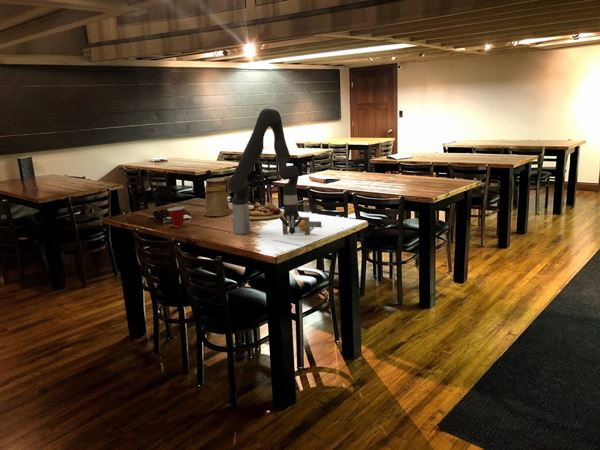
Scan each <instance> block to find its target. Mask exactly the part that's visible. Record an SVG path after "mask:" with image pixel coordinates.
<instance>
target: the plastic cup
mask: <svg viewBox="0 0 600 450" xmlns="http://www.w3.org/2000/svg"><path fill="white" fill-rule="evenodd" d="M167 212H168V214H169V216H170V220H171V223H172V225H173V227H174V226H181V225H183V226H184V217H185V216H184V213H185V206H175V207H171V208H168V209H167Z"/></svg>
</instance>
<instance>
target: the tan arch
mask: <svg viewBox="0 0 600 450" xmlns="http://www.w3.org/2000/svg"><path fill="white" fill-rule="evenodd" d="M302 217H303V219H302V220H305V233H304V235H305V236H310V234H311V232H310V222H309V221H310V217H309V216H302ZM285 220H286V218H285ZM302 220H301V221H302ZM286 221H287V220H286ZM295 221H298V218H297V219H296V220H295ZM287 222H288V221H287ZM281 223H282V235H284V236H285V235H288V234H289V233H288V231H289V230H288V229H289V227H286V226H285V225H284V223H283V222H282V221H281Z"/></svg>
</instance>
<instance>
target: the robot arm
mask: <svg viewBox="0 0 600 450" xmlns="http://www.w3.org/2000/svg"><path fill="white" fill-rule="evenodd" d="M269 127H270V129H271V130H272V132H273V139H274V140H273V141H274V142H273V148H274V152H275V156H276V158H277V164H278V167H277V168H278V175H279V176H280V178H281V179H282V180H285V181H287V180H288V182H286V183H285V184H283V188H282V189H283V201H282V203H283V211H284V214H283V215H284V216H282V217H281V218H279V220H280V221H281V223H282V222H283V223H284V225H285V226H286V227H288V229H289V230H288V231H289V233H288V234H290V235H294V234H296V233H295V227H296V226H298V224H299V223H300V222H301V221H302V219H303V217H304V216H301V215H300V214H299V204H298V202H299V201H298V195H297V193H298V192H297V186H298V181H299V176H300V171H299V169H298V166H296V165H295V164H294V165H292V164H291V165H287V163H288V162H290V161H291V158H292V157H291V154H290V150H289V148H288V145H287V141H286V137H285V132H284V128H283V121H282V116H281V114H280V112H279V111H278V110H277V109H273V108H263V109H262V110H261V111H260V113H259V114H258V116H257V120H256V122H255V125H254V129H253V131H252V133H251V135H250V137H249V140H248V142H247V144H246V146H245V148H244V150H243V153H242V155H241V157H240V160H239V161H238V164H237V166H236V169H235V170H234V172H233V173H232V175H231V176H230V179H229V183H228V186H229V189H230V192H232V193H234V195H233V197H232V199H231V205H232V217H231V223H232V224H231V225H232V234H235V235H247V234H250V233H251V221H250V219H249V208H250V207H249V198H250V185H249V180H248V178H247V177H248V174H249V173H250V172H251V170H252V169H253V168H254V167H255V165H256V164H257V163H258V161H259V160H260V158H261V155H262V153H263V151H264V138H265V135H266V132H267V130H268V129H269ZM285 218H286V220H287V221H286V220H285ZM297 218H298V220H296V219H297ZM295 221H297V223H296V224H295Z"/></svg>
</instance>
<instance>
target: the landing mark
mask: <svg viewBox="0 0 600 450" xmlns="http://www.w3.org/2000/svg"><path fill="white" fill-rule="evenodd" d="M314 228H315V227H310V233H311V231H313V230H314ZM288 234H290V233H289V230H288ZM294 234H305V230H301V229H300V228H299V227H295V233H294Z"/></svg>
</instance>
